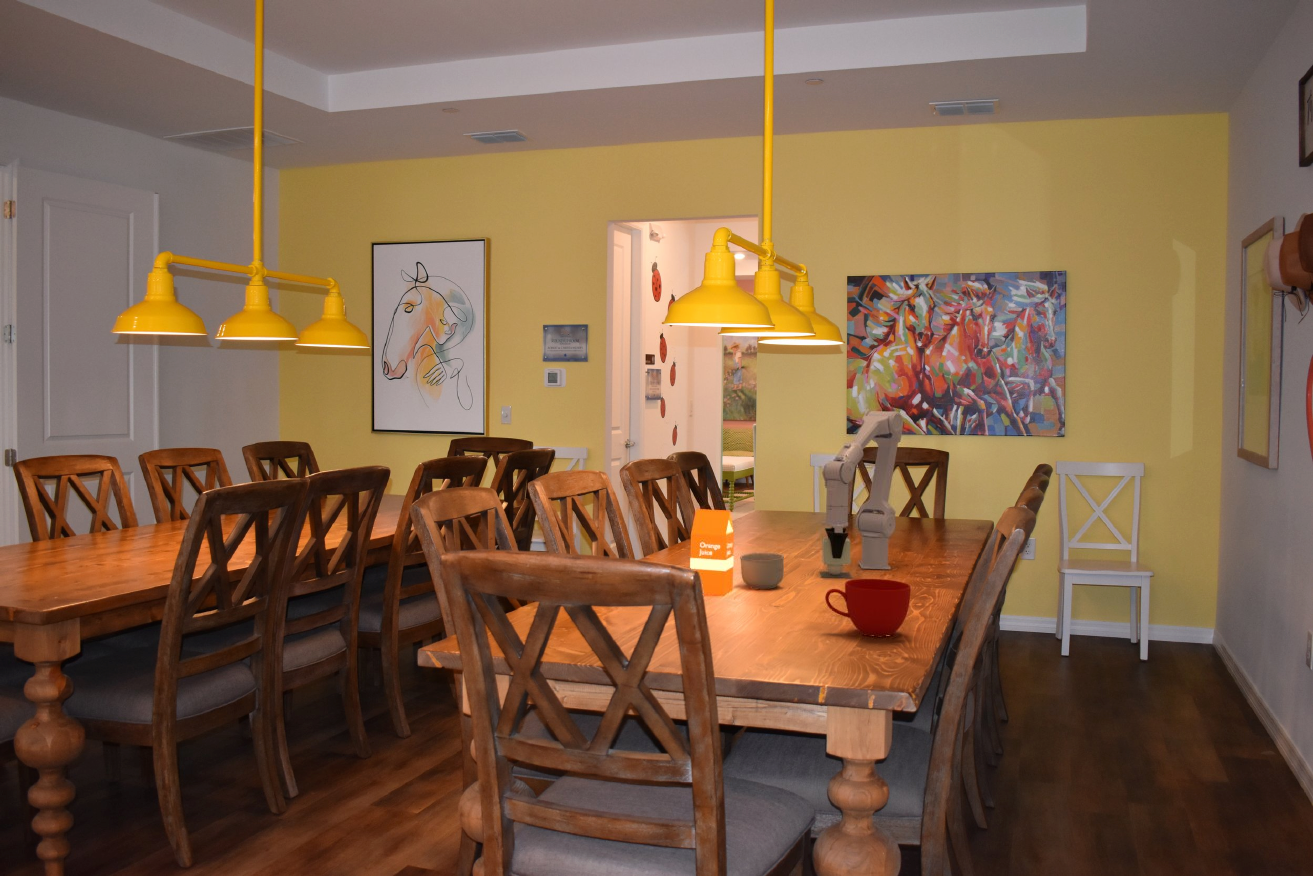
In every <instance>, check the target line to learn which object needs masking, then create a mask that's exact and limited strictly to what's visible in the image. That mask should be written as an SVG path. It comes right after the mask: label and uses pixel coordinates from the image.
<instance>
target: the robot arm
mask: <svg viewBox="0 0 1313 876" xmlns="http://www.w3.org/2000/svg"><path fill="white" fill-rule="evenodd" d="M903 429H904V421H903V418H902V415H901V413H900V412H899V411H898V410H897V411H896V410H893V411H883V410H882V411H878V410H877V411H875V410H867V411H865V413H864V414H863V416H862V417H861V427H860V429H859V430H858V432H857V434H856V435H855V437H854V439H853V440H852V442H851V441H849V442H846V443H844V445H843V446H842V448H841V449H840V451H839V452H837V453H838V454H836V456H835V457H834V459H833V460H829V461H828V462H827V463H825V465H824V466H823V469H822V473H821V474H822V479H823V480H824V487H825V489H826V500H825V501H826V503H825V507H826V510H825V521H821V526H827V527H828V528H827V527H826V528H824V530H825V533H826V536H827V538H829V539H830V543H831V551H832V556H833V558H836V559H841V556H842V552H843V547H844V544H845V541H846V539H847V538H848V536H849V532H847V528H846V527H848V526H849V522H848V518H849V517H848V514H849V483H850V482H851V481H852V480H853V479H854V474H855V470H856V467H857V465H858V463H859V462H860V461H861V460H862V459H863V457H864V451H863V450H864V449H865V448H866V447H867V446H868V444H869V443H870V442H871V441H873V442H875V443H876V444H877V446H878V447H877V453H876V458H875V464H874V470H873V476H872V480H871V481H872V482H871V488H870V493H869V498H868V500H867V501H865V502H864V503H862V504H861V505H860V508H859V511H858V513H857V516H856V518H855V526H856V529H857V531H858V532H859V535H860V536H861V541H862V542H861V544H862V545H861V561H858V565H859V566H860V568H861V569H864V570H866V569H867V570H891V566H890V565H889V537H892V535H893V533H894V532H895V529H896V523H897V522H896V510H895V509H894V508H893V507H892V506H891V505H890V503H889V498H890V492H891V486H892V481H893V475H894V468H895V462H896V456H897V452H898V451H897V450H898V444H899V443H900V442H901V439H902V436H903V435H902V434H903ZM829 527H830V528H829Z"/></svg>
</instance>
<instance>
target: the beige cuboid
mask: <svg viewBox="0 0 1313 876" xmlns="http://www.w3.org/2000/svg"><path fill="white" fill-rule="evenodd" d="M821 543H822V544H821V546H822V547H821V548H822V551H821V552H822V554H821V555H822V563H823V565H824V566H825V565H826V566H827V565H843V566H844V565H851V563H852V562H851V560H852V558H851V552H852V551H851V540H850V538H848V537H847V539H846V541H845V544H844V547H843V552H842V556H841V559H836V558H833V556H832V551H831V543H830V539H829V538H828V537H827V538H822V539H821Z"/></svg>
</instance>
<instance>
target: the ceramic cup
mask: <svg viewBox="0 0 1313 876" xmlns="http://www.w3.org/2000/svg"><path fill="white" fill-rule="evenodd" d="M911 590H912V589H911V586H910V584H909V583H906V582H903V581H898V580H892V579H882V578H857V579H851V580H847V581H845V583H844V591H843V590H841V589H838V588H831V589H829V590H827V592H826V593H825V596H824V597H825V598H824V600H825V602H826V606H828V608H829V609H830V610H831V611H833V612H834V613H835V614H837V615H839V616H842V617H845V618H849V619H850V621H851V622H852V625H854V627H855V628H856V629H857V630H858V632H859V633H860V632H861V633H863V634H866V635H874V636H886V635H892V634H893V635H894V634H895V633H896V632H897V631H898V630H899V628H901V626H902V625H903V624H904V621H905V619H906V617H907V615H908V612H909V611H908V610H909V607H910V601H911V600H910V599H911ZM833 593H837V594H839V595H840V596H842V597H843V599H844V602H845V605H846V609H847V612H844V611H841V610H840V609H837V608H835V606H833V605H832V604H831V602H830V595H831V594H833ZM861 633H860V634H861ZM863 634H862V635H863ZM866 635H865V636H866ZM893 635H892V636H893Z"/></svg>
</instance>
